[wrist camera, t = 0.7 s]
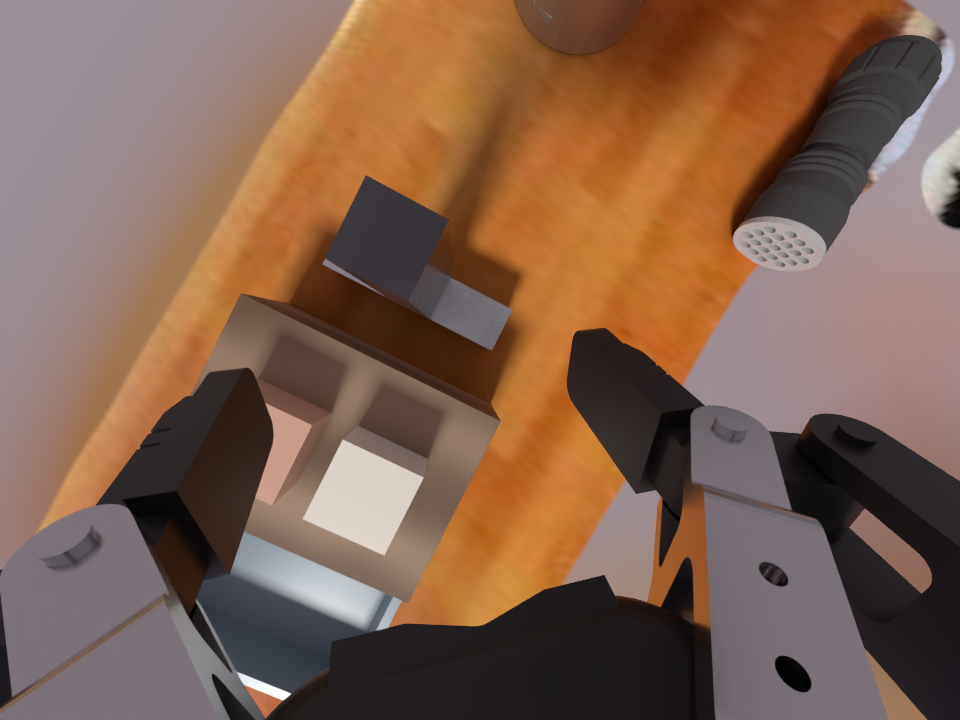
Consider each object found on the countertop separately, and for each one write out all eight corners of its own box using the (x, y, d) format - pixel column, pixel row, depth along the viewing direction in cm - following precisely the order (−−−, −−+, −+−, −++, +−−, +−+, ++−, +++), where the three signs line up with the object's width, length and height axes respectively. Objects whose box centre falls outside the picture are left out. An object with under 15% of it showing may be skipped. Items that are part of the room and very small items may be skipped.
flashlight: (829, 66, 29) (916, 3, 23) (882, 110, 29) (979, 58, 24) (717, 236, 29) (777, 212, 24) (771, 277, 29) (843, 262, 24)
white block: (357, 425, 22) (342, 439, 19) (427, 458, 22) (424, 477, 19) (323, 494, 22) (302, 519, 19) (393, 526, 22) (384, 555, 19)
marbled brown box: (288, 303, 27) (240, 293, 21) (490, 403, 28) (500, 421, 22) (212, 455, 27) (144, 488, 21) (417, 547, 28) (407, 603, 22)
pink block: (258, 378, 21) (226, 384, 18) (331, 413, 22) (312, 425, 19) (223, 449, 21) (185, 467, 18) (297, 482, 22) (272, 505, 19)
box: (210, 459, 27) (168, 479, 23) (415, 551, 28) (409, 585, 24) (148, 583, 27) (96, 626, 23) (355, 669, 29) (339, 722, 25)
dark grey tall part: (355, 234, 27) (235, 104, 12) (506, 312, 28) (566, 283, 13) (336, 272, 27) (192, 190, 12) (487, 349, 28) (526, 361, 13)
